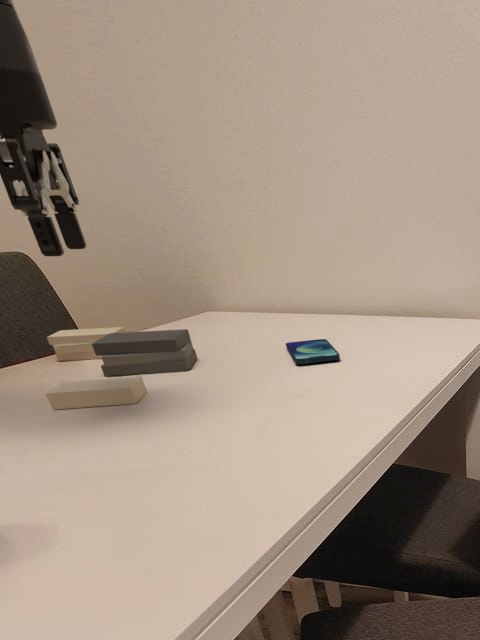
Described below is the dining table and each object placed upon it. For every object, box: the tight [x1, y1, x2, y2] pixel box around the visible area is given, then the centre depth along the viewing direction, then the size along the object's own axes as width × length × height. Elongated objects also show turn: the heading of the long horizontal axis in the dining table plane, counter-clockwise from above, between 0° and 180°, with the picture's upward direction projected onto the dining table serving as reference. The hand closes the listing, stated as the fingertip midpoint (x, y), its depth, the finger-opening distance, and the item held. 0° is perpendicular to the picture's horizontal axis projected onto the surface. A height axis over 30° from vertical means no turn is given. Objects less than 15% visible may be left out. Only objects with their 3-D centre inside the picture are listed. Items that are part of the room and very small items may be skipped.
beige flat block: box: [45, 376, 148, 411], centre depth 84 cm, size 11×6×2 cm, turn 101°
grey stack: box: [92, 328, 198, 378], centre depth 98 cm, size 14×9×5 cm
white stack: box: [46, 326, 126, 362], centre depth 106 cm, size 12×7×4 cm, turn 101°
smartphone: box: [285, 338, 341, 365], centre depth 103 cm, size 8×1×15 cm
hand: (66, 252), depth 72 cm, fingers open, 8 cm apart
